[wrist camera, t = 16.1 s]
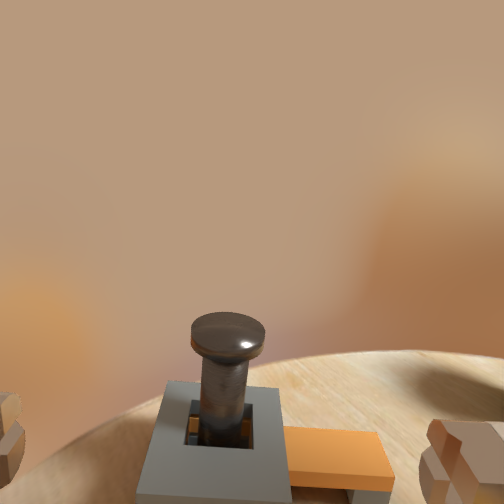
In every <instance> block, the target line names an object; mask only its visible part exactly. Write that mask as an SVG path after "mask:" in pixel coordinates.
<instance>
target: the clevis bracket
mask: <svg viewBox="0 0 504 504" xmlns="http://www.w3.org/2000/svg"><path fill="white" fill-rule="evenodd" d="M200 391H201V383H196V382H181V381H168V382H167V385H166V389H165V392H164V396H163V399H162V403H161V406H160V410H159V413H158V417H157V420H156V424H155V427H154V431H153V434H152V438H151V441H150V444H149V448H148V451H147V455H146V458H145V462H144V465H143V469H142V472H141V476H140V479H139V483H138V486H137V490H136V493H135V504H292V495H291V486H304V487H321V488H337V489H346V492H347V496H348V500H349V504H389V500H390V496H391V492H392V488H393V484H394V480H395V475H394V473H393V471H392V468H391V466H390V463H389V461H388V458H387V456H386V454H385V451H384V449H383V446H382V444H381V441H380V439H379V437H378V434H377V432H363V431H348V430H333V429H318V428H304V427H289V426H283V421H282V412H281V404H280V396H279V388H266V387H252V386H246V393H245V402H244V412H243V421H242V430H241V440H240V449H237V448H221V447H206V446H197V435H198V420H199V406H200Z"/></svg>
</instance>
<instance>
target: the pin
mask: <svg viewBox="0 0 504 504" xmlns="http://www.w3.org/2000/svg"><path fill="white" fill-rule="evenodd" d="M264 339H265V329H264V327H263V325H262V324H261V323H260V322H258V321H257V320H255V319H253V318H251V317H249V316H246V315H243V314H239V313H232V312H215V313H210V314H206V315H203V316H201V317H199V318H197V319H196V320H195V321H194V322H193V324H192V327H191V346H192V348H193V349H194V351H195V352H196V353H198V354H199V355H201V356H202V357H203V361H202V377H201V391H200V406H199V420H198V435H197V446H206V447H221V448H237V449H240V440H241V430H242V421H243V412H244V402H245V393H246V383H247V374H248V365H249V360H251V359H253V358H255V357H257V356H258V355H259V354H260V353H261V352H262V350H263V347H264Z"/></svg>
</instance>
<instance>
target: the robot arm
mask: <svg viewBox="0 0 504 504" xmlns="http://www.w3.org/2000/svg"><path fill="white" fill-rule="evenodd" d="M21 412H22V405H21V399H20V396H18V395H17V394H16V393H9V392H0V489H1V488H3V487H4V486H6V485H7V484H9V483H10V482H11V481H12V479H13V477H14V476H15V474H16V472H17V471H18V469H19V466H20V463H21V460H22V458H23V455H24V449H25V431H24V429H23V428H22V427H21V426H20V425H19V423H18V422H17V421H16V419H17V418H18V416H19V415H20V414H21ZM426 436H427V438H428V440H429V441H430V443H431V446H430V447H428V448H427V449H426V450H425V451H424V452H423V453H422V454H421V459H420V464H419V482H420V486H421V490H422V494H423V496H424V498H425V501H426V503H427V504H504V422H492V421H483V422H475V421H457V420H439V419H433V421H432V422H431V423H430V425H429V427H428V431H427V435H426Z"/></svg>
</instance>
